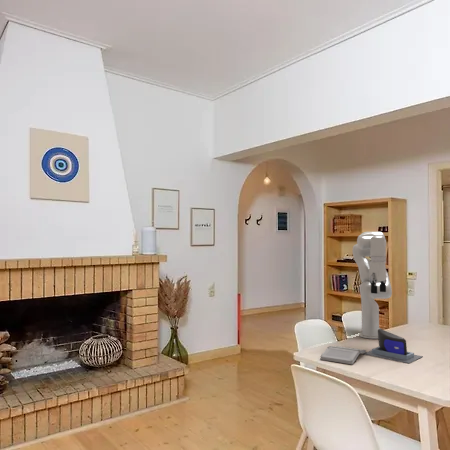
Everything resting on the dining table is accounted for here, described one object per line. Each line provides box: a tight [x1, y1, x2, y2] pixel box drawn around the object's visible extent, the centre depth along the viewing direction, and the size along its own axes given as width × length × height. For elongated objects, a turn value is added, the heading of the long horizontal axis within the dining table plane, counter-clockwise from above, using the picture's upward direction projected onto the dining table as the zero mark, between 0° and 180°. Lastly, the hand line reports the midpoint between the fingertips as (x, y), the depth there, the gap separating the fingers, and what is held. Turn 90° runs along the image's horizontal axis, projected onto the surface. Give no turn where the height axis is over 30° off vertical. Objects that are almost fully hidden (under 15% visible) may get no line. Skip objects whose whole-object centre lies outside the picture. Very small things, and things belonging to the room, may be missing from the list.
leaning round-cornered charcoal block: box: [377, 328, 408, 355], centre depth 198 cm, size 16×5×9 cm, turn 27°
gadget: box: [319, 345, 367, 365], centre depth 196 cm, size 23×15×4 cm, turn 146°
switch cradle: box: [362, 346, 424, 365], centre depth 198 cm, size 16×22×2 cm
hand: (378, 292), depth 216 cm, fingers open, 9 cm apart
